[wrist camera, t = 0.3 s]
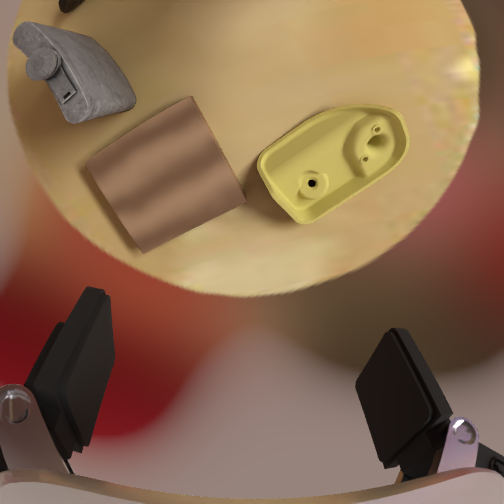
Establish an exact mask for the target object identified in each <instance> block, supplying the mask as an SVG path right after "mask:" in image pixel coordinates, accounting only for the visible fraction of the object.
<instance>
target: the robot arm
mask: <svg viewBox="0 0 504 504" xmlns="http://www.w3.org/2000/svg"><path fill="white" fill-rule="evenodd" d="M114 360H115V349H114V340H113V329H112V316H111V300H110V296H109V295H105V291H104V290H103V289H98V288H93V287H86V289H85V290H84V292H83V293H82V295H81V297H80V298H79V300H78V302H77V304H76V305H75V307H74V309H73V310H72V312H71V314H70V315H69V317H68V319H67V320H66V322H65V323H63V322H59V323H58V324H57V325H56V326H55V328H54V330H53V331H52V334H51V335H50V337H49V339H48V340H47V342H46V344H45V346H44V347H43V349H42V351H41V353H40V355H39V357H38V359H37V361H36V363H35V364H34V367H33V368H32V370H31V372H30V374H29V376H28V378H27V380H26V382H25V384H24V386H22V385H17V384H10V385H6V386H3V387H1V388H0V504H504V457H503V456H502V455H500V454H499V453H496V452H495V451H493V450H491V449H490V448H488V447H486V446H485V445H483V444H481V443H479V433H478V429H477V428H476V426H475V425H474V424H473V423H472V421H470V420H469V419H467V418H465V417H455V418H454V419H452V421H450V419H449V417H450V416H451V415H452V414H453V412H452V410H451V408H450V406H449V404H448V402H447V400H446V398H445V396H444V394H443V392H442V390H441V388H440V387H439V385H438V383H437V381H436V379H435V377H434V375H433V374H432V372H431V370H430V368H429V366H428V365H427V363H426V361H425V359H424V358H423V356H422V354H421V352H420V351H419V349H418V347H417V345H416V344H415V342H414V340H413V339H412V337H411V335H410V334H409V332H408V331H407V330H406V329H403V328H391V329H390V330H389V331H388V332H386V333H385V334H384V336H383V337H382V339H381V341H380V343H379V344H378V346H377V348H376V349H375V351H374V353H373V354H372V356H371V358H370V359H369V361H368V363H367V364H366V366H365V367H364V369H363V371H362V372H361V374H360V375H359V377H358V379H357V381H356V386H355V387H356V391H357V394H358V397H359V400H360V402H361V406H362V409H363V411H364V414H365V418H366V421H367V424H368V427H369V430H370V433H371V436H372V439H373V442H374V445H375V449H376V452H377V455H378V458H379V460H380V461H381V462H383V465H384V469H387V468H393V467H397V466H398V465H400V468H401V469H400V472H399V474H398V476H397V478H396V481H395V483H394V484H392V485H388V486H383V487H378V488H372V489H367V490H361V491H355V492H349V493H341V494H333V495H324V496H314V497H301V498H284V499H230V498H212V497H200V496H188V495H181V494H173V493H165V492H159V491H152V490H146V489H140V488H135V487H129V486H124V485H120V484H114V483H111V482H106V481H102V480H97V479H92V478H88V477H84V476H79V475H76V474H75V472H74V470H73V468H72V466H71V464H70V463H69V460H68V459H70V458H71V456H72V452H73V451H76V452H79V453H82V450H83V446H89V444H90V441H91V437H92V433H93V430H94V426H95V422H96V419H97V416H98V412H99V409H100V406H101V402H102V399H103V396H104V392H105V389H106V386H107V383H108V380H109V377H110V374H111V370H112V368H113V365H114Z"/></svg>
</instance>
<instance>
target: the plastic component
mask: <svg viewBox="0 0 504 504" xmlns="http://www.w3.org/2000/svg"><path fill="white" fill-rule="evenodd" d="M409 144H410V138H409V133H408V130H407V127H406V124H405V121H404V118H403V116H402V115H401V114H400V113H399V112H398V111H396V110H395V109H392V108H388V107H385V106H380V105H372V104H355V105H346V106H341V107H337V108H333V109H330V110H327V111H324V112H322V113H320V114H317V115H315V116H313V117H312V118H310V119H308V120H306V121H305V122H303V123H302V124H301V125H299V126H298V127H296V128H295V129H293V130H292V131H290V132H289V133H287V134H286V135H285V136H283V137H282V138H280V139H279V140H277V141H276V142H275V143H273V144H272V145H270V146H269V147H268V148H266V149H265V150H264V151H263V152H262V153H261V154H260V156H259V158H258V161H257V170H258V172H259V174H260V176H261V178H262V179H263V181H264V183H265V185H266V187H267V189H268V191H269V193H270V194H271V196H272V197H273V199H274V200H275V201H276V202H277V203H278V204H279V205H280V206H281V207H282V208H283V209H284V210H285V211H286V212H287V213H288V214H289V215H290V216H291V217H292V218H293V219H294V220H295V221H296V222H297V223H299V224H310V223H313V222H315V221H317V220H318V219H320V218H321V217H323V216H324V215H326V214H327V213H329V212H331V211H332V210H334V209H335V208H337V207H338V206H340V205H341V204H343V203H344V202H346V201H347V200H349V199H350V198H352V197H353V196H355V195H357V194H358V193H360V192H361V191H363V190H364V189H366V188H367V187H369V186H370V185H372V184H373V183H375V182H376V181H378V180H379V179H381V178H382V177H384V176H385V175H387V174H388V173H389V172H391V171H392V170H393V169H394V168H395V167H396V166H398V165H399V163H400V162H401V161H402V160H403V159H404V157H405V155H406V153H407V151H408V148H409ZM364 157H365V158H364ZM363 158H364V159H363ZM310 179H313V180H315V181H316V185H315V187H310V186H309V185H308V181H309V180H310Z"/></svg>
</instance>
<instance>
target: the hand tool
mask: <svg viewBox="0 0 504 504" xmlns="http://www.w3.org/2000/svg"><path fill="white" fill-rule="evenodd" d="M83 1H84V0H59V7H60V10H61V11H62V12H64V13H68V12H70V11H71V10H73V9H74V8H75V7H77V6H78V5H79V4H81V3H82V2H83Z"/></svg>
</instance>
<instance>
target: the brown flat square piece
mask: <svg viewBox="0 0 504 504" xmlns="http://www.w3.org/2000/svg"><path fill="white" fill-rule="evenodd" d="M85 165H86V167H87V168H88V170H89V172H90V173H91V175H92V177H93V178H94V180H95V182H96V183H97V185H98V186H99V188H100V190H101V191H102V193H103V194H104V196H105V198H106V199H107V201H108V202H109V204H110V205H111V207H112V208H113V210H114V212H115V213H116V215H117V216H118V218H119V219H120V221H121V222H122V224H123V225H124V227H125V228H126V230H127V231H128V233H129V234H130V236H131V237H132V239H133V240H134V241H135V243H136V244H137V246H138V247H139V249H140V250H141V252H142V253H143V254H144V253H146V252H148V251H150V250H152V249H154V248H156V247H158V246H160V245H162V244H164V243H166V242H167V241H169V240H171V239H173V238H175V237H177V236H179V235H181V234H183V233H185V232H187V231H189V230H191V229H193V228H195V227H197V226H199V225H201V224H203V223H205V222H207V221H209V220H211V219H213V218H215V217H217V216H219V215H221V214H223V213H225V212H227V211H230V210H232V209H234V208H236V207H238V206H240V205H242V204H244V203H246V195H245V193H244V191H243V189H242V187H241V185H240V183H239V182H238V180H237V178H236V176H235V174H234V172H233V170H232V168H231V167H230V165H229V163H228V161H227V159H226V157H225V155H224V153H223V152H222V150H221V148H220V146H219V144H218V142H217V140H216V139H215V137H214V135H213V133H212V131H211V129H210V128H209V126H208V124H207V122H206V120H205V118H204V117H203V115H202V113H201V111H200V109H199V107H198V106H197V104H196V102H195V100H194V98H193V96H189V97H187V98H185V99H183V100H181V101H180V102H178V103H176V104H174V105H173V106H171V107H169V108H167V109H166V110H164V111H162V112H160V113H159V114H157V115H155V116H154V117H152V118H150V119H149V120H147V121H146V122H144V123H142V124H141V125H139V126H138V127H136V128H134V129H133V130H131V131H130V132H128V133H127V134H125V135H124V136H122V137H121V138H119V139H118V140H116V141H115V142H113V143H112V144H110V145H109V146H107V147H106V148H104V149H103V150H102V151H100V152H99V153H97V154H96V155H95V156H93V157H92V158H90V159H89V160H88V161H86V162H85Z"/></svg>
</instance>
